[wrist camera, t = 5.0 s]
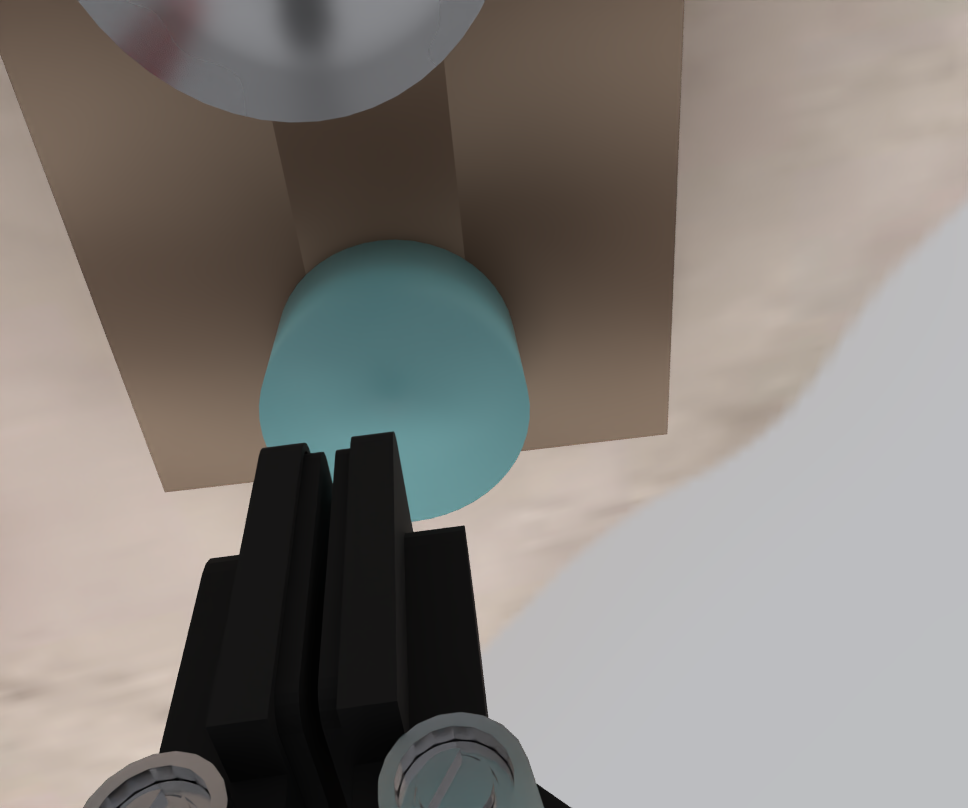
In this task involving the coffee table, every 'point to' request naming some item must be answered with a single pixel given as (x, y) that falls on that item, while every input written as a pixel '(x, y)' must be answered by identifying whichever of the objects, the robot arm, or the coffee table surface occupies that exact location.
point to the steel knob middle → (287, 49)
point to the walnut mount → (372, 212)
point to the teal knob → (401, 369)
